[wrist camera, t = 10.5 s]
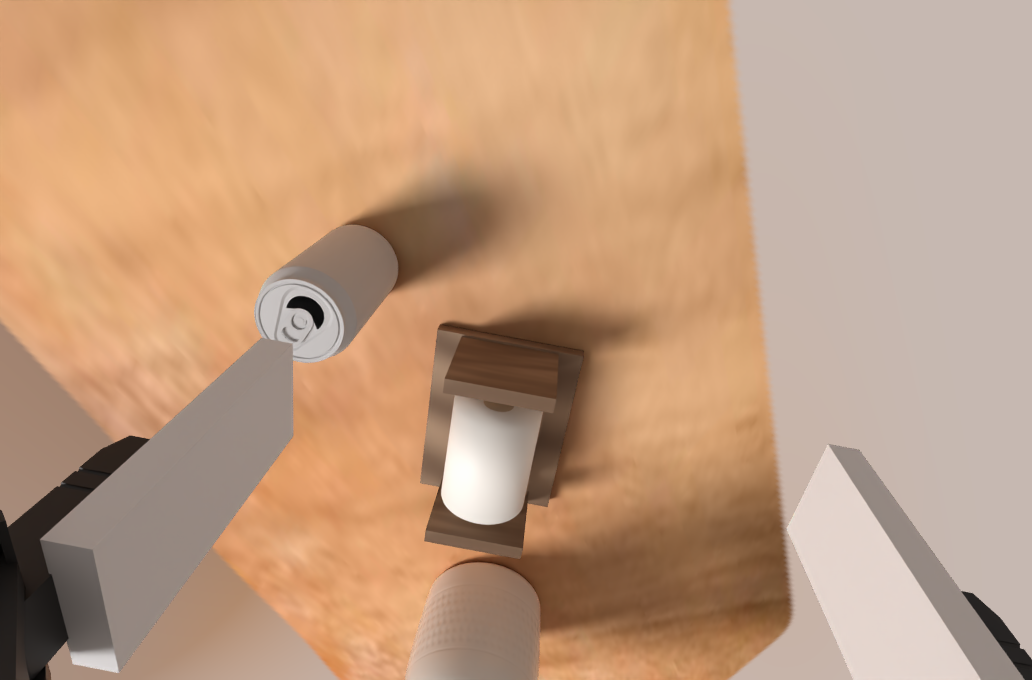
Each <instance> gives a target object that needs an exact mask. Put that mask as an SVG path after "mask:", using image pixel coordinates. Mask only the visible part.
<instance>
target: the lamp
mask: <svg viewBox="0 0 1032 680" xmlns="http://www.w3.org/2000/svg"><path fill="white" fill-rule="evenodd" d="M540 617H541V611H540V602H539V599H538V596H537V594H536V592H535V590H534V589H533V587H532V586H531V585H530V583H529V582H528V581H527V580H526V579H524V578H523V577H522V576H521V575H519V574H518V573H516V572H514V571H513V570H511V569H509V568H506V567H503V566H500V565H497V564H493V563H486V562H472V563H465V564H460V565H457V566H455V567H452V568H450V569H449V570H447V571H445V572H444V573H442V574H441V575H440V576H439V577H438V578H437V579H436V580H435V581H434V583H433V585H432V587H431V588H430V591H429V594H428V597H427V600H426V603H425V606H424V610H423V613H422V616H421V620H420V623H419V626H418V629H417V633H416V636H415V639H414V643H413V646H412V650H411V654H410V658H409V662H408V666H407V670H406V675H405V680H538V676H539V657H540Z"/></svg>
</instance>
